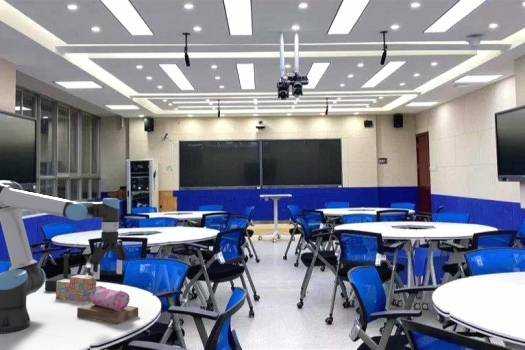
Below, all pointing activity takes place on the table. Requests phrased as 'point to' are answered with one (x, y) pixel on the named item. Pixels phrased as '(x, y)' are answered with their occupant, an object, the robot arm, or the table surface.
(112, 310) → the walnut riser
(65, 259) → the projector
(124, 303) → the pencil case
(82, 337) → the table surface
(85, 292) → the stack of blocks
